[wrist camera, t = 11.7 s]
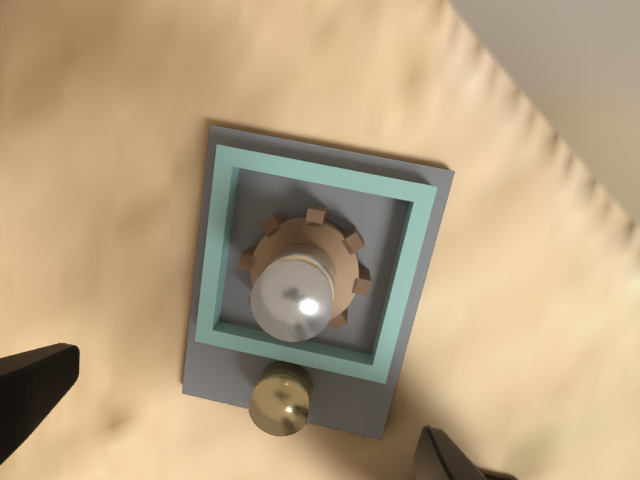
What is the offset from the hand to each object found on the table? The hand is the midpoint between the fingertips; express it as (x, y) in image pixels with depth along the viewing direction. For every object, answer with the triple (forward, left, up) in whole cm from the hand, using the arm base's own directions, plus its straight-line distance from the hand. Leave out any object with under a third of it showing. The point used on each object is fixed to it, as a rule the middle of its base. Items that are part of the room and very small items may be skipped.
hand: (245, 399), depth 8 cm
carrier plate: (0, +2, -13) cm, 13 cm away
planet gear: (0, 0, -12) cm, 12 cm away
